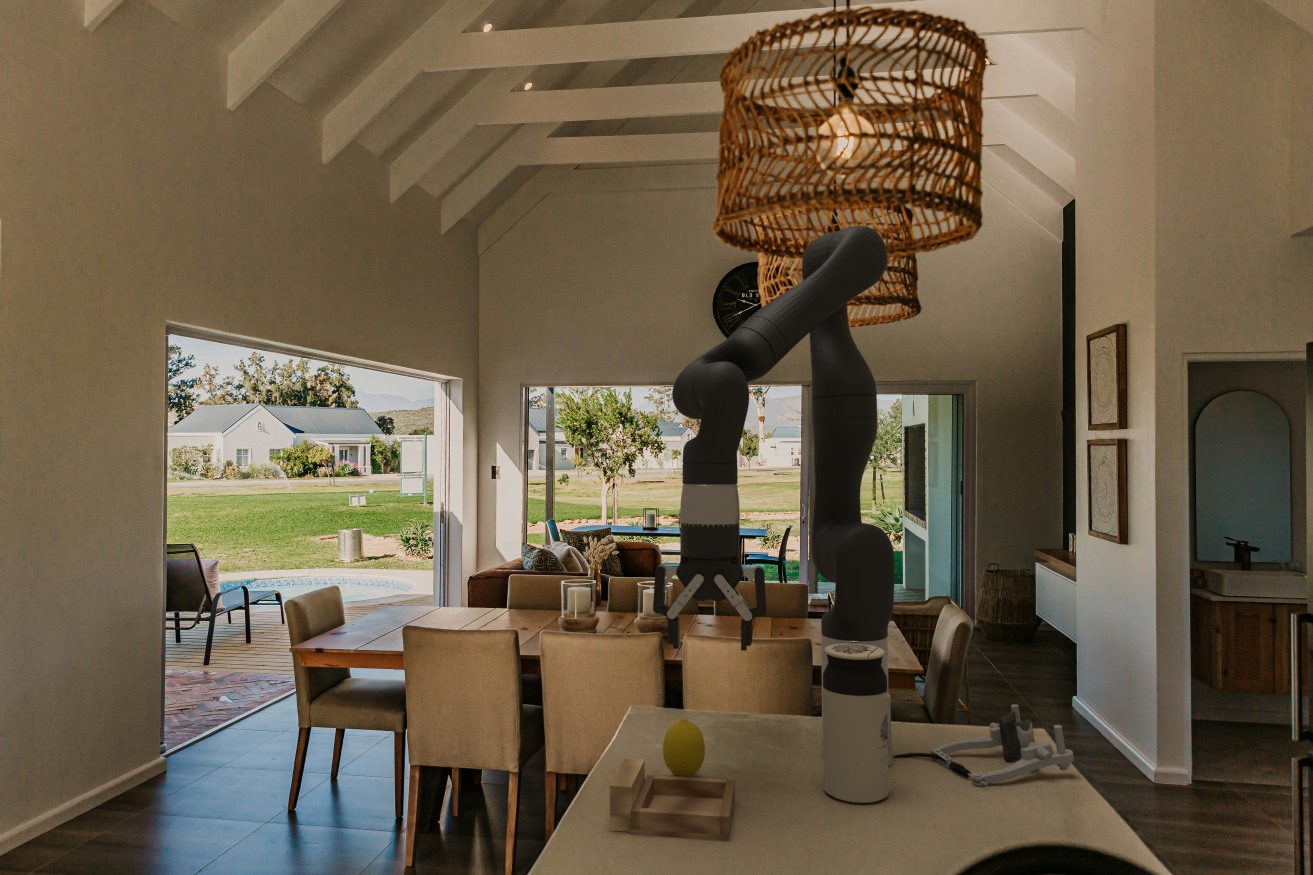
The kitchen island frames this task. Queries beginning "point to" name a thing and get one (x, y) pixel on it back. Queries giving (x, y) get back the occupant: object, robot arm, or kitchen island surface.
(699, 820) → the walnut tray
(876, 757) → the travel mug
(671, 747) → the lemon
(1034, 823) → the kitchen island surface
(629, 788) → the oak stop
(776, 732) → the kitchen island surface
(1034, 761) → the bike brake
